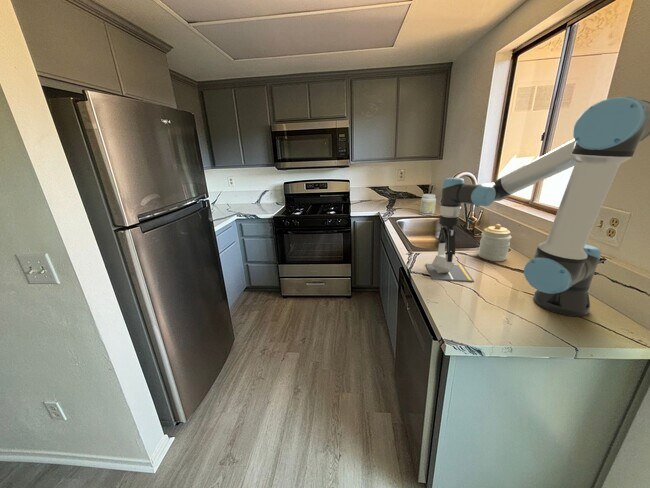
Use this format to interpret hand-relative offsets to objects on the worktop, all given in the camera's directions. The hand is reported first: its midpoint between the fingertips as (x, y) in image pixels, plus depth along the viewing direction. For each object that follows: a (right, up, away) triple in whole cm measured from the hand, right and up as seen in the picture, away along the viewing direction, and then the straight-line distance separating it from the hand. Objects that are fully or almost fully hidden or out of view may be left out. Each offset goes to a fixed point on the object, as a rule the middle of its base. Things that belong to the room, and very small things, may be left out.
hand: (444, 262), depth 119 cm
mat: (+3, -5, +3) cm, 7 cm away
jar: (+33, +1, +19) cm, 39 cm away
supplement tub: (+35, +33, +110) cm, 120 cm away
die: (0, -5, +3) cm, 5 cm away
